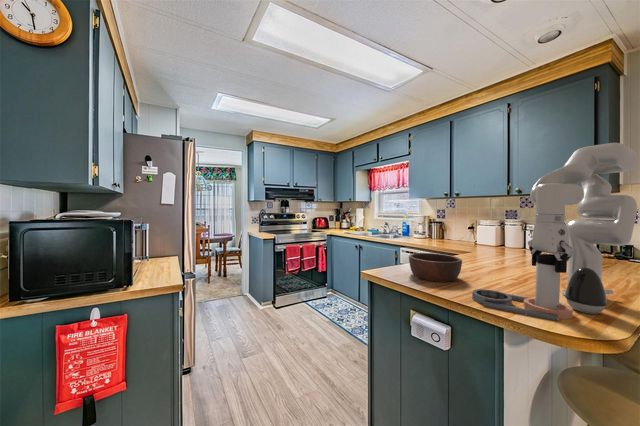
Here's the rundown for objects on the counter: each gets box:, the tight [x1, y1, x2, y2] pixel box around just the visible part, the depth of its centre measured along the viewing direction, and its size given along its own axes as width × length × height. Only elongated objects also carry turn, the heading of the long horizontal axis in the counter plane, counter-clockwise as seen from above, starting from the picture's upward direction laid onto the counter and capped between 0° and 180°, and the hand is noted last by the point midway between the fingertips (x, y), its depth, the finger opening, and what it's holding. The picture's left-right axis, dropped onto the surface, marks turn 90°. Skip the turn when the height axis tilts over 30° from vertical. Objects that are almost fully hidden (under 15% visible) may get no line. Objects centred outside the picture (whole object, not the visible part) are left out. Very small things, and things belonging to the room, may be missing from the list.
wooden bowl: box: [408, 252, 463, 283], centre depth 133 cm, size 25×25×10 cm
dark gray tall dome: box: [564, 268, 608, 315], centre depth 90 cm, size 10×10×15 cm
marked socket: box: [523, 297, 574, 320], centre depth 90 cm, size 12×12×2 cm
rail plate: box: [471, 288, 559, 322], centre depth 96 cm, size 24×17×2 cm
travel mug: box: [534, 253, 562, 310], centre depth 89 cm, size 6×7×20 cm
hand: (548, 268), depth 89 cm, fingers open, 9 cm apart
